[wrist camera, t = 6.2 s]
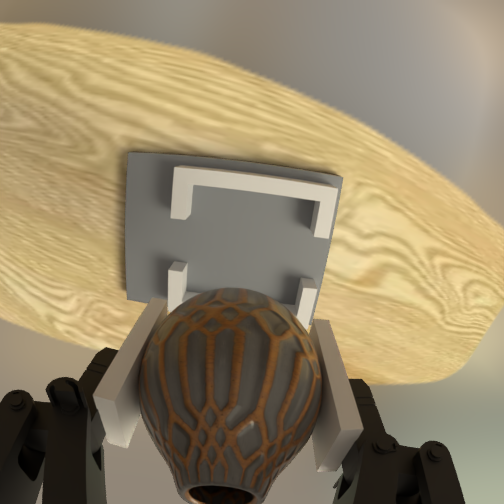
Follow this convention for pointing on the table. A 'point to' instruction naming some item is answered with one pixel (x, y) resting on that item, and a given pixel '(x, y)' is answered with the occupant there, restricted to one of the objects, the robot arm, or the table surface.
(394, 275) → the table surface
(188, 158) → the board
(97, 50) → the table surface
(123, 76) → the table surface
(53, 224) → the table surface
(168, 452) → the vase
